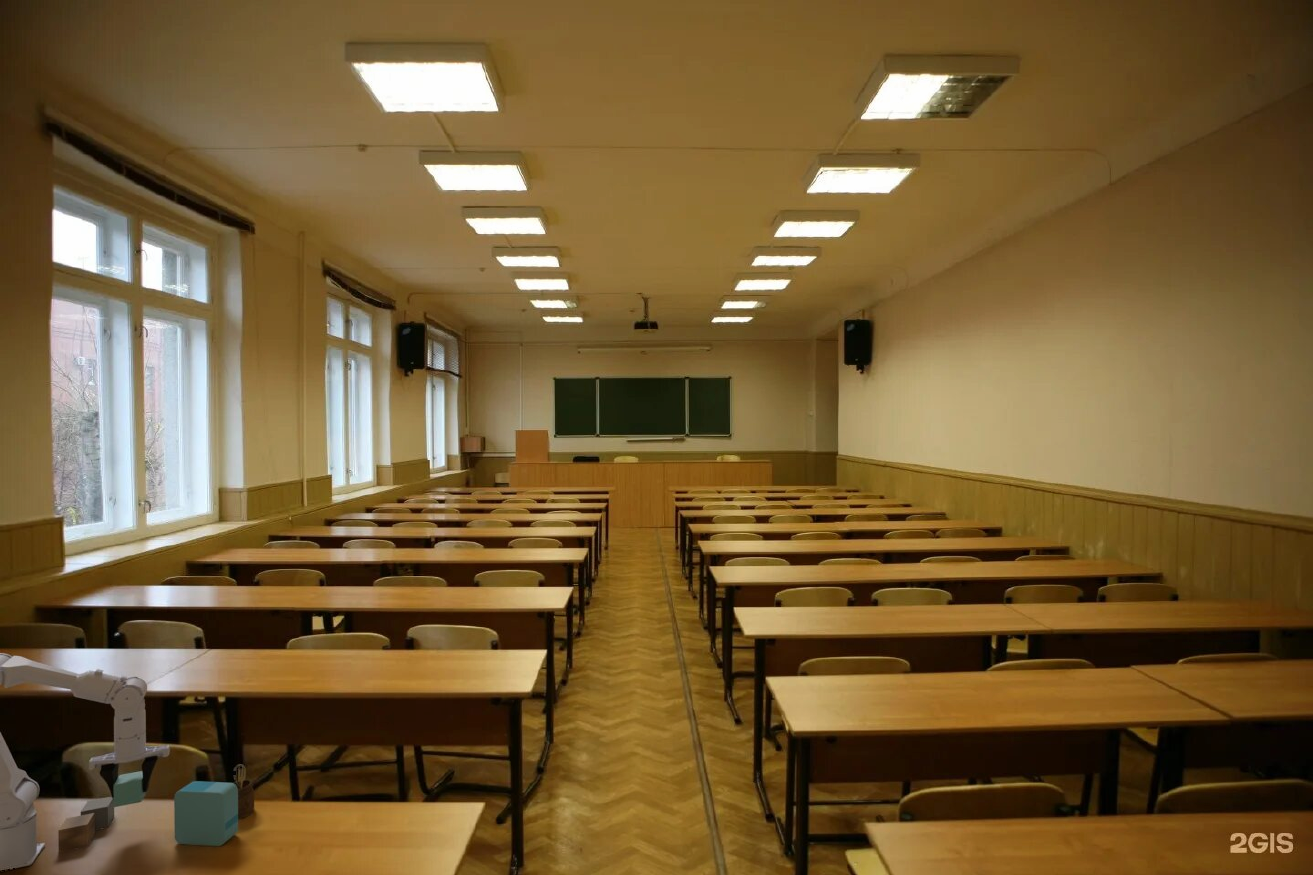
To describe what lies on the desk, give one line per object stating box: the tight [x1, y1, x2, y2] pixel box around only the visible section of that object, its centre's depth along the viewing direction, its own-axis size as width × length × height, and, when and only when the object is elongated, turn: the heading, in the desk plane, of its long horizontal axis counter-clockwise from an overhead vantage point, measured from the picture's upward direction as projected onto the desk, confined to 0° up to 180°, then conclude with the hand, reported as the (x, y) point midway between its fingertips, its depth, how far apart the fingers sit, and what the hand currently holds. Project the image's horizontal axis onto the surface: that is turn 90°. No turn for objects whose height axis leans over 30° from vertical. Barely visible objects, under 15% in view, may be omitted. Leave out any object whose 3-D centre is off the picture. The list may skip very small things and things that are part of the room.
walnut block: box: [57, 813, 95, 853], centre depth 151 cm, size 5×5×5 cm
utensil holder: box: [232, 764, 255, 820], centre depth 163 cm, size 6×6×12 cm
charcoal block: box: [80, 796, 115, 831], centre depth 158 cm, size 5×5×5 cm
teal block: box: [114, 770, 147, 808], centre depth 155 cm, size 5×5×5 cm
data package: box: [173, 780, 239, 847], centre depth 153 cm, size 12×4×12 cm, turn 85°
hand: (130, 792), depth 155 cm, fingers closed on teal block, 5 cm apart
